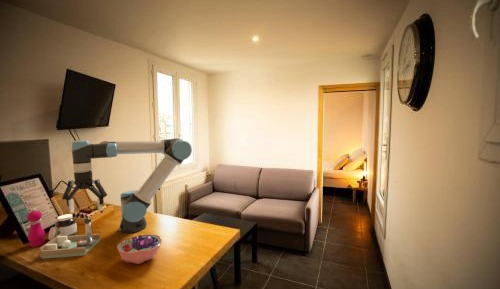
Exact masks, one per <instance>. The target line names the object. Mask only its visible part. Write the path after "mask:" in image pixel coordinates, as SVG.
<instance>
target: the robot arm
mask: <svg viewBox="0 0 500 289" xmlns="http://www.w3.org/2000/svg"><path fill="white" fill-rule="evenodd" d="M192 150H193V149H192V146H191V143H190V142H189V141H188V140H185V139H182V138H168V139H161V140H160V141H159V140H158V141H157V140H149V141H147V140H146V141H141V140H140V141H138V140H137V141H134V140H133V141H108V140H107V141H106V140H105V141H101V142H99V143H90V140H84V139H82V140H74V141H72V142H71V154H72V155H71V156H72V165H73V166H72V167H73V176H74V177H73V178H74V180H73V179H72V180H69V181H67V186H66V188H65V190H64V193H63V195H62V197H61V199H62V200H66V204H67V205H66V206H67V207H68V209H69V211H68V212H69V214H72V213H74V212H75V201H74V198H73V197H74V196H75V195H76V194H77V192H78V191H79V190H89V191H90V192H92V194H94V195H95V196H96V197H97V211H98V212H101V211H102V210H103V205H104V198H106V197H107V196H108V194H107V192H106V191H105V189H104V187H103V186H102V184H101V182H100V179H99V178H97V179H93V170H92V169H93V168H92V160H94V159H106V158H116V157H117V156H118V155H134V154H135V155H137V154H142V155H143V154H161V155H164V157H163V158H162V160H160V162H159V163H158V164H157V166H156V168H155V169H154V170H153V172H152V173H151V174H150V175H149V177H148V178H146V180H145V181H144V183H143V184H142V185H141V187H140V188H139V189H137V190H129V191H125V192H122V193H120V197H119V198H120V208H121V220H120V223H119V227H118V228H119V232H121V233H122V234H131V233H137V232H140V231H143V230H144V229H145V228H146V227H147V225H148V224H147V223H148V222H147V219H146V218H145V216H146V214H147V210H148V208H149V207H150V206H151V204H152V199H153V197H154V196H155V195H156V193H157V192H158V191H159V189H160V188H161V187H162V185H163V184H164V183H165V182H166V180H167V178H168V177H169V176H170V175H171V174H172V172H173V171H174V170H175V168H176V167H177V166H179V165H181V164H182V163H183V162H184V160H186V159H188V158H189V157H190V156H191V154H192ZM74 185H75V187H74ZM73 188H74V189H73ZM72 189H73V190H72Z"/></svg>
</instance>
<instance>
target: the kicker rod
mask: <svg viewBox="0 0 500 289" xmlns="http://www.w3.org/2000/svg"><path fill="white" fill-rule="evenodd" d="M83 223H84V230H85V231H84V232H85V235H86V240H83V239H81V240H79V241H78V242H77V247H87V246H93V245H94V244H95V239H93V240H92V234H93V233H92V226H91V224H92V218H90V217H86V218H84V220H83Z"/></svg>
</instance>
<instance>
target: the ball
mask: <svg viewBox="0 0 500 289" xmlns="http://www.w3.org/2000/svg"><path fill="white" fill-rule="evenodd" d="M70 244H71V241H70V240H65V241H64V242H63V243H62V246H61V247H69V246H70Z"/></svg>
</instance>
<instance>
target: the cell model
mask: <svg viewBox="0 0 500 289" xmlns="http://www.w3.org/2000/svg"><path fill="white" fill-rule="evenodd" d="M162 241H163V240H162V238H161V236H160V235H157V234H148V233H147V234H146V233H145V234H138V235H137V236H136V235H135V236H132V237H129V238H126V239H124V240H122V241H121V242H120V243H118V244H117V246H116V248H117V250H118V252H119V255H120V258H121V259H122V260H123V261H124V262H126V263H129V264H130V263H131V264H135V265H140V264H142V263H144V262H147V261H150V260H151V259H153V258H154V257H155V256H156V255H157V254H158V251H159V250H160V248H161V246H162Z"/></svg>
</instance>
